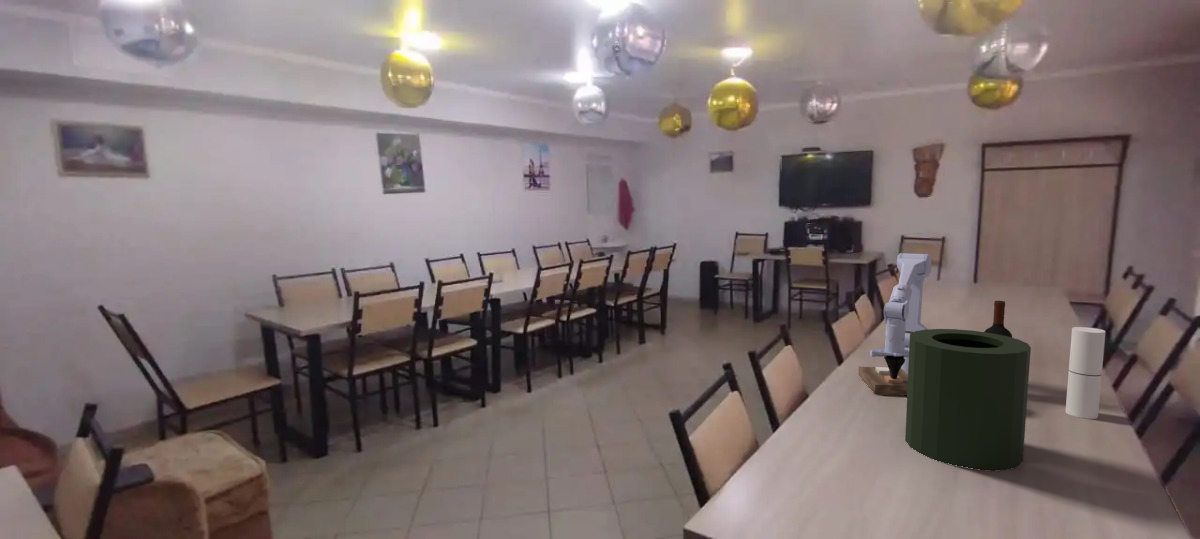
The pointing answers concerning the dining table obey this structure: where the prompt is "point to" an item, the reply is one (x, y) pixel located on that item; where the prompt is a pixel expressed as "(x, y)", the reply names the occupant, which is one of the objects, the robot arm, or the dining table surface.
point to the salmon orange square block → (893, 379)
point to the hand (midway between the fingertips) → (893, 378)
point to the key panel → (883, 382)
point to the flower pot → (967, 397)
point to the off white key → (882, 370)
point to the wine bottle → (999, 320)
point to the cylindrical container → (1085, 372)
